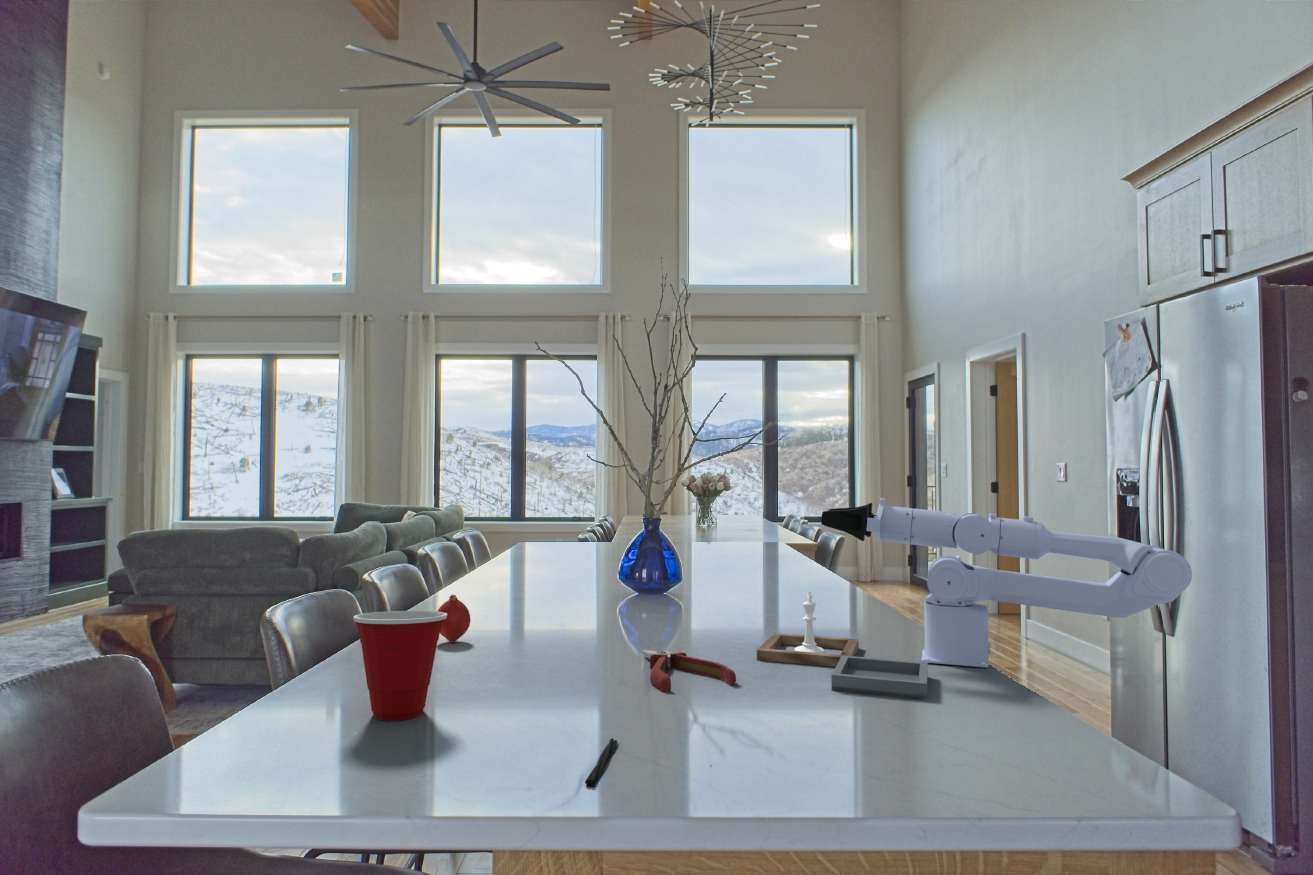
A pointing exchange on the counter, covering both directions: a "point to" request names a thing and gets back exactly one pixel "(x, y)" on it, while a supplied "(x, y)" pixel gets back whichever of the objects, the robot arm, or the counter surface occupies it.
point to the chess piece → (809, 629)
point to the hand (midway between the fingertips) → (825, 516)
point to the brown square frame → (772, 654)
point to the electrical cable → (601, 763)
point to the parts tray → (881, 677)
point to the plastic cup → (398, 659)
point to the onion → (454, 619)
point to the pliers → (683, 668)
